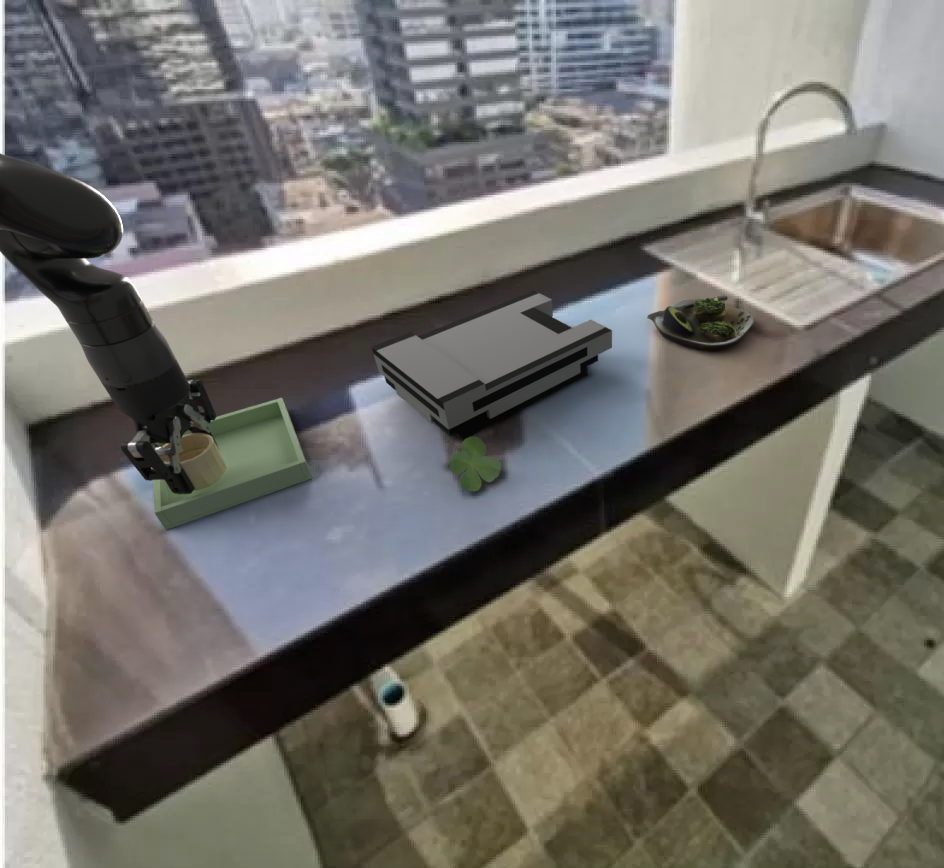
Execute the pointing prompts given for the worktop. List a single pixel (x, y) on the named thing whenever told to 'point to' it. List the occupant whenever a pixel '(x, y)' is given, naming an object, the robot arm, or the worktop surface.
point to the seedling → (474, 464)
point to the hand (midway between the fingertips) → (199, 473)
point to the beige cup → (200, 459)
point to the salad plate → (702, 323)
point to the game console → (490, 363)
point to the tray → (240, 464)
